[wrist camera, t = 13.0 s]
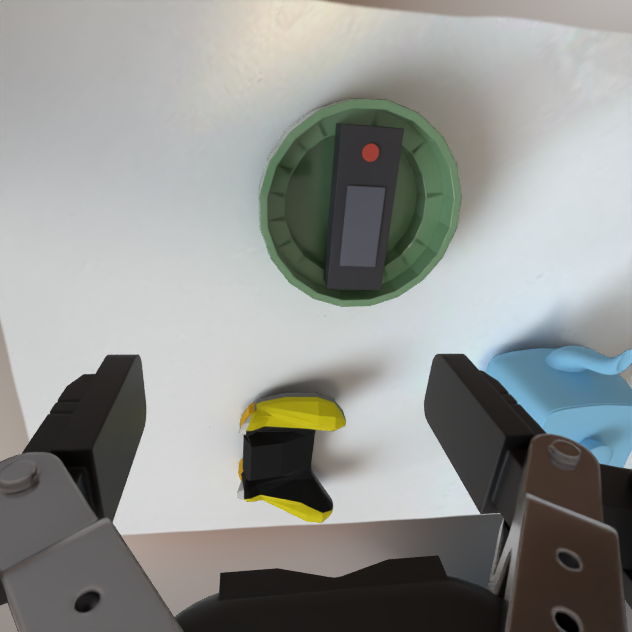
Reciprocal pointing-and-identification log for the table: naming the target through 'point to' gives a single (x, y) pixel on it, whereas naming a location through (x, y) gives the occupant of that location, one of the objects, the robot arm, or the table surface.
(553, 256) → the table surface
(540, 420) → the teapot
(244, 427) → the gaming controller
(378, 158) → the remote
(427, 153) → the bowl
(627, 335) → the table surface
